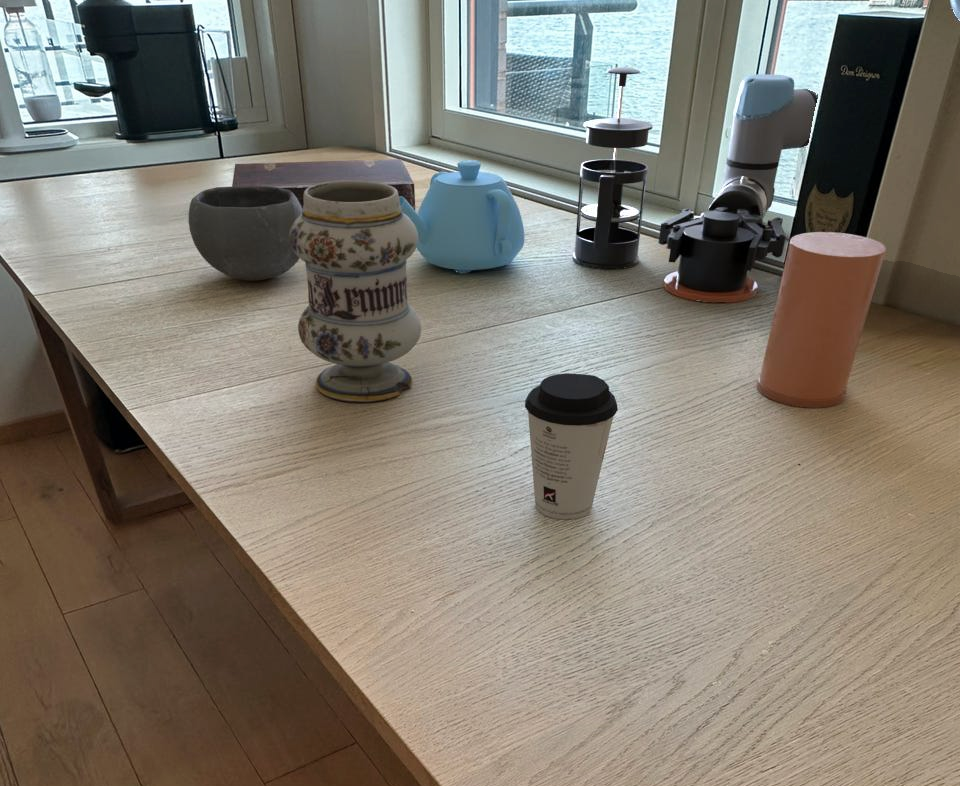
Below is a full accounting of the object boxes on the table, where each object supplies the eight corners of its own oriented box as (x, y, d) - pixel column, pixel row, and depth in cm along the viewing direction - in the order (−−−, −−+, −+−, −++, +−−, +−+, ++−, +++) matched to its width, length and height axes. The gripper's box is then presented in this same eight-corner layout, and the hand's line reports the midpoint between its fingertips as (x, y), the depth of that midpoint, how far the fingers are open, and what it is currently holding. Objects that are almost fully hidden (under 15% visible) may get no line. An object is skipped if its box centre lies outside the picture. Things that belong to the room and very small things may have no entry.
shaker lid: (749, 276, 114) (761, 211, 109) (740, 296, 108) (753, 227, 103) (683, 269, 117) (693, 204, 112) (670, 287, 110) (680, 220, 105)
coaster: (761, 280, 116) (762, 274, 115) (750, 308, 107) (751, 301, 106) (673, 270, 119) (674, 264, 118) (655, 296, 110) (656, 290, 110)
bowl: (302, 256, 123) (292, 178, 117) (320, 287, 112) (311, 203, 106) (195, 265, 119) (180, 185, 113) (203, 298, 108) (187, 212, 102)
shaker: (847, 380, 89) (888, 237, 80) (843, 413, 83) (887, 261, 74) (761, 368, 92) (792, 227, 83) (751, 400, 85) (784, 251, 77)
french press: (580, 247, 128) (594, 61, 113) (643, 252, 126) (665, 64, 111) (564, 269, 119) (577, 72, 104) (631, 275, 117) (654, 75, 102)
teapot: (555, 270, 118) (561, 168, 110) (432, 296, 110) (428, 187, 102) (475, 238, 131) (475, 144, 123) (359, 259, 122) (351, 159, 114)
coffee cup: (544, 535, 66) (552, 412, 59) (506, 493, 71) (509, 375, 64) (622, 516, 68) (638, 396, 62) (580, 477, 73) (590, 362, 66)
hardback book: (236, 222, 138) (231, 187, 134) (240, 195, 152) (235, 163, 149) (415, 215, 142) (414, 181, 139) (402, 190, 156) (401, 159, 153)
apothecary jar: (393, 416, 82) (381, 210, 71) (283, 397, 85) (254, 197, 74) (441, 370, 91) (437, 181, 79) (339, 354, 94) (321, 171, 82)
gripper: (665, 178, 123) (629, 214, 107) (821, 191, 117) (808, 231, 101) (658, 234, 128) (622, 276, 112) (807, 249, 122) (793, 296, 106)
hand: (711, 255), depth 106 cm, fingers closed on shaker lid, 9 cm apart
